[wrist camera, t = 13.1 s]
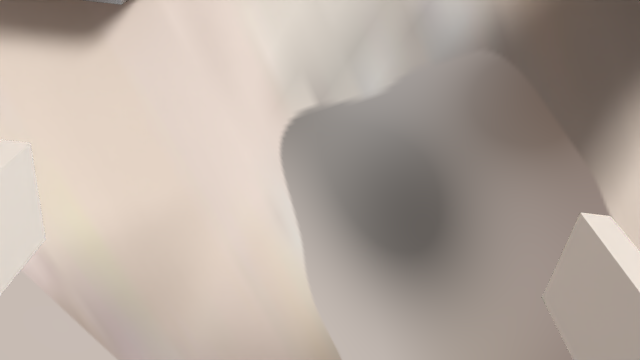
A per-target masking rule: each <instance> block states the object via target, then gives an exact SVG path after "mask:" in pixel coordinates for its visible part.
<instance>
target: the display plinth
mask: <svg viewBox="0 0 640 360" xmlns="http://www.w3.org/2000/svg"><path fill="white" fill-rule="evenodd" d="M84 1H93V2H103V3H112V4H123V3H124V2H126V1H128V0H84Z"/></svg>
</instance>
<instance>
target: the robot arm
mask: <svg viewBox="0 0 640 360" xmlns="http://www.w3.org/2000/svg"><path fill="white" fill-rule="evenodd" d="M45 240H46V236H45V230H44V223H43V217H42V211H41V204H40V198H39V192H38V186H37V179H36V173H35V167H34V160H33V154H32V148H31V143H26V142H18V141H10V140H2V139H0V295H1V294H2V293H3V291H4V290H5V289H6V288H7V286H8V285H9V284H10V283H11V281H12V280H13V279H14V278H15V277H16V275H17V274H18V273H19V272H20V271H21V269H22V268H23V267H24V266H25V264H26V263H27V262H28V261H29V259H30V258H31V257H32V256H33V254H34V253H35V252H36V251H37V249H38V248H39V247H40V246H41V244H42V243H43V242H44V241H45ZM542 299H543V301H544V303H545V305H546V307H547V309H548V311H549V313H550V315H551V317H552V319H553V321H554V323H555V325H556V327H557V329H558V331H559V333H560V335H561V337H562V339H563V341H564V343H565V345H566V347H567V349H568V351H569V353H570V355H571V357H572V359H573V360H640V251H639V250H638V249H637V247H636V246H635V245H634V244H633V243H632V241H631V240H630V239H629V238H628V236H627V235H626V234H625V233H624V232H623V230H622V229H621V228H620V227H619V226H618V224H617V223H616V222H615V221H614V220H613V218H612V217H611V216H604V215H597V214H588V213H580V214H579V216H578V219H577V221H576V223H575V225H574V227H573V230H572V232H571V234H570V236H569V238H568V240H567V243H566V245H565V247H564V250H563V252H562V254H561V256H560V258H559V260H558V262H557V265H556V267H555V269H554V271H553V273H552V276H551V278H550V280H549V282H548V284H547V287H546V289H545V291H544V293H543V296H542Z"/></svg>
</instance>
